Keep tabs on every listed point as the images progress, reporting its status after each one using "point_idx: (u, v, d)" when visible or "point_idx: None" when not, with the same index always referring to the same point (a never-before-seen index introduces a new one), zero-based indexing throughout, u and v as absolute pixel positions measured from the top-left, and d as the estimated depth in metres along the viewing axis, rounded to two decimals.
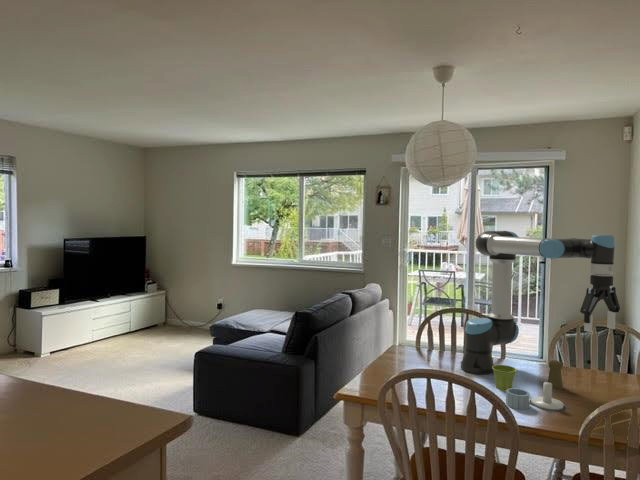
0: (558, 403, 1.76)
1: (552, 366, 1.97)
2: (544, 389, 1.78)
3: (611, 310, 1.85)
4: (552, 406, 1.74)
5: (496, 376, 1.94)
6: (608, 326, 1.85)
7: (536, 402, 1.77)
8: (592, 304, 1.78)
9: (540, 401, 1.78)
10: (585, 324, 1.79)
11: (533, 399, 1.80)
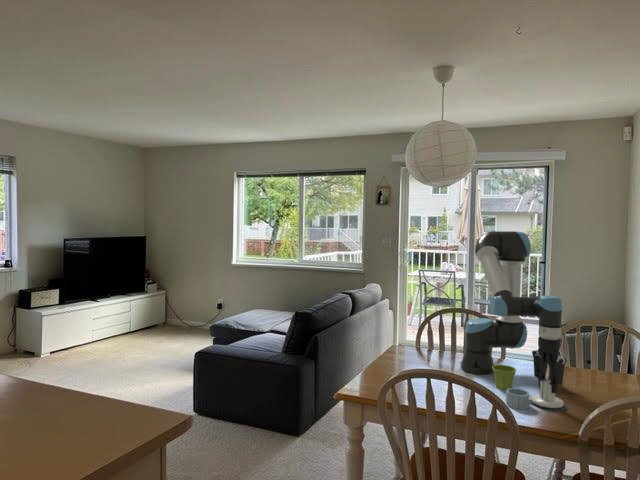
0: (558, 401, 1.76)
1: None
2: (544, 387, 1.78)
3: None
4: (552, 404, 1.74)
5: (496, 376, 1.94)
6: None
7: (536, 400, 1.77)
8: None
9: (540, 399, 1.78)
10: None
11: (533, 397, 1.80)
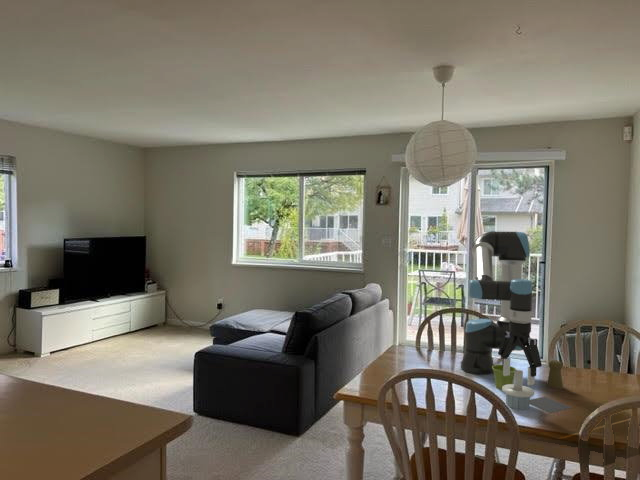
0: (528, 391, 1.75)
1: (552, 366, 1.97)
2: (515, 376, 1.76)
3: None
4: (522, 393, 1.72)
5: (496, 376, 1.94)
6: None
7: (506, 389, 1.76)
8: None
9: (511, 389, 1.77)
10: None
11: (504, 387, 1.79)
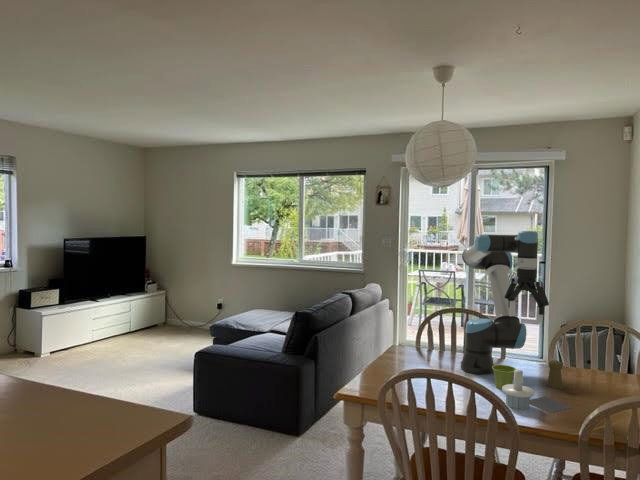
0: (528, 391, 1.75)
1: (552, 366, 1.97)
2: (515, 376, 1.76)
3: None
4: (522, 393, 1.72)
5: (496, 376, 1.94)
6: None
7: (506, 389, 1.76)
8: None
9: (511, 389, 1.77)
10: None
11: (504, 387, 1.79)
